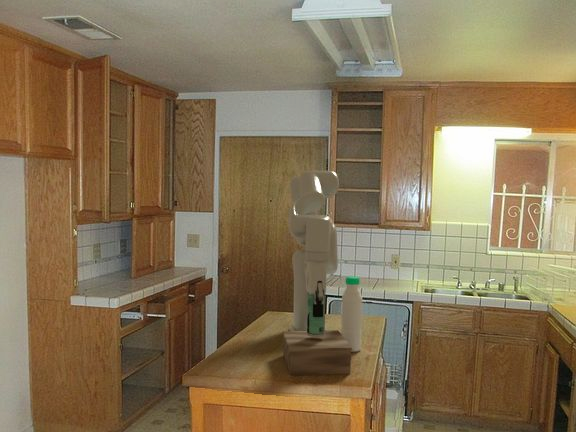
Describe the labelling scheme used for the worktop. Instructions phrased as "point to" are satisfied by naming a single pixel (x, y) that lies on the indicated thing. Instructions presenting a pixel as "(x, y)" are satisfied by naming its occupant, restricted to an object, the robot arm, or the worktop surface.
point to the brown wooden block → (316, 353)
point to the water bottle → (352, 314)
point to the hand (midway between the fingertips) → (316, 313)
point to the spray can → (315, 319)
